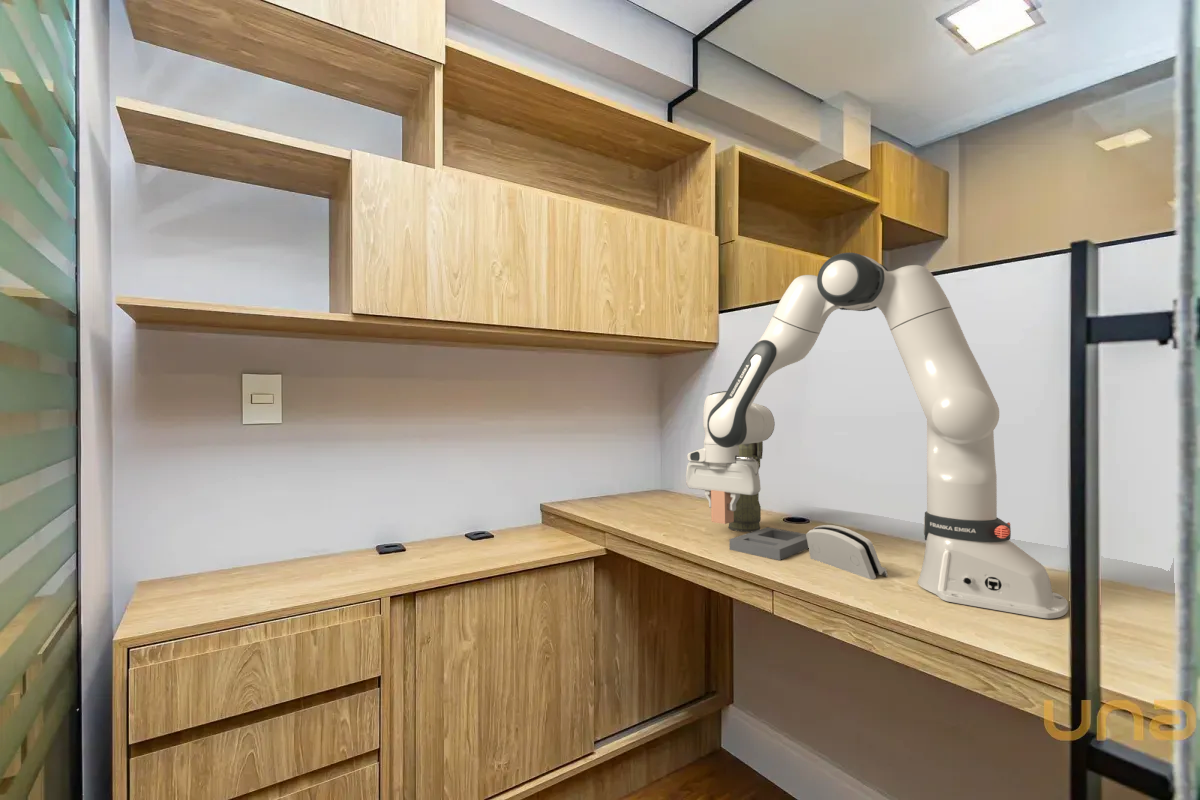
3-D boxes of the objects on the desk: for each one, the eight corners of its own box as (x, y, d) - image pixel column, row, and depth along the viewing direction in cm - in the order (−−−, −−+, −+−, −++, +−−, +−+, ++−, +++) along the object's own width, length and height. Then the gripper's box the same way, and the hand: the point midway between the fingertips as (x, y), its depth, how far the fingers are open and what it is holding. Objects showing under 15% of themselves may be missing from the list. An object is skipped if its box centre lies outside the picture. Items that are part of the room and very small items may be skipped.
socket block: (815, 545, 136) (815, 535, 136) (779, 560, 123) (779, 549, 123) (767, 536, 145) (767, 527, 145) (729, 549, 132) (729, 539, 132)
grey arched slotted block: (889, 576, 111) (877, 532, 110) (874, 587, 110) (861, 542, 108) (826, 555, 127) (814, 516, 126) (811, 564, 125) (799, 525, 124)
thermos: (735, 522, 162) (735, 404, 162) (771, 529, 153) (770, 404, 153) (717, 527, 156) (717, 404, 156) (753, 534, 147) (753, 405, 148)
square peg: (733, 521, 139) (733, 490, 139) (725, 524, 136) (724, 491, 136) (720, 519, 142) (719, 488, 142) (711, 521, 139) (710, 490, 139)
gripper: (764, 456, 134) (765, 512, 134) (696, 452, 149) (697, 503, 149) (751, 458, 130) (752, 516, 129) (682, 453, 144) (683, 506, 144)
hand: (722, 509), depth 139 cm, fingers closed on square peg, 4 cm apart
